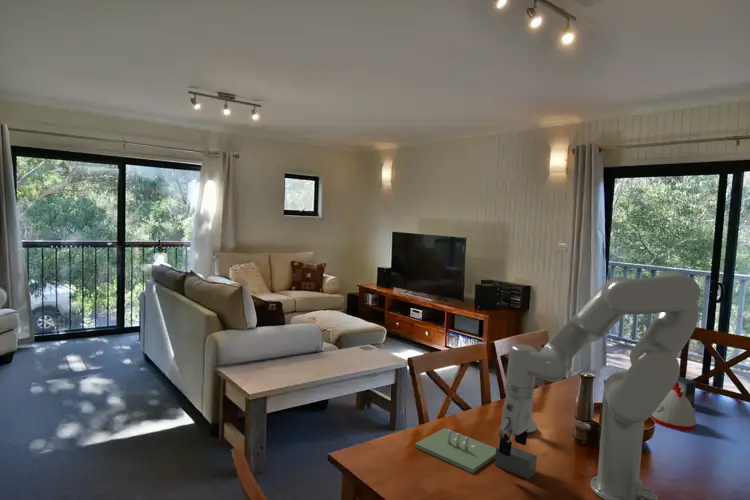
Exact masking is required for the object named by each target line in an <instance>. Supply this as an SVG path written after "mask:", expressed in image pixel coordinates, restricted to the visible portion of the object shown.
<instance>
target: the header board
mask: <svg viewBox="0 0 750 500" xmlns="http://www.w3.org/2000/svg"><path fill="white" fill-rule="evenodd" d="M414 448H416V449H417V450H420V451H422V452H424V453H425V454H428V455H431V456H433V457H435V458H438V459H440V460H442V461H444V462H447V463H449V464H451V465H453V466H455V467H457V468H460V469H462V470H464V471H466V472H468V473H471V474H474V473H476V472H477V471H479V470H480V469H482V468H483V467H484V466H487V464H489V463H490V462H491V461H494V460H495V456H496V448H497V447H494V446H492V445H489V444H486V443H484V442H481V441H479V440H477V439H473V438H471V437H469V436H466V435H463V434H461V433H460V432H455V431H453V430H452V429H448V428H446V427H443V428H442V429H440V430H438V431H436V432H434V433H432V434H431V435H429V436H427V437H424V438H421V440H419V441H417V442H415V443H414Z"/></svg>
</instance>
